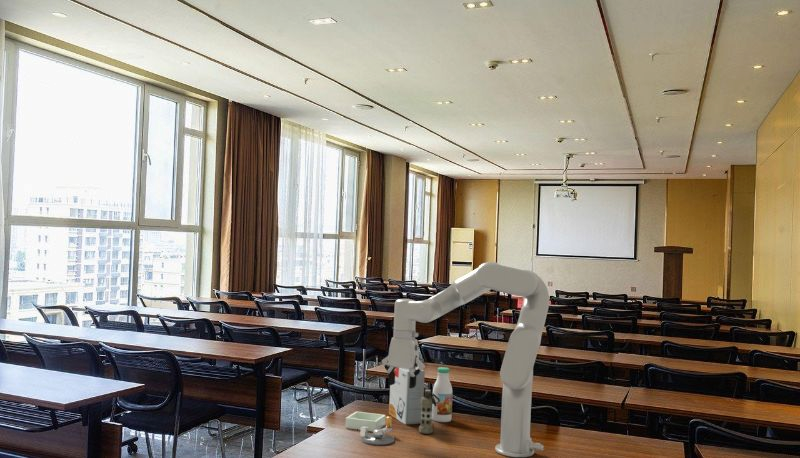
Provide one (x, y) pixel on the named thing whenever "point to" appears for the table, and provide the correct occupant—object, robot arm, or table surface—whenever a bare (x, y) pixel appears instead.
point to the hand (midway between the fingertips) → (401, 385)
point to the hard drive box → (406, 397)
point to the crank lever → (379, 432)
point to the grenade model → (427, 412)
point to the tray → (365, 421)
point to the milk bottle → (442, 397)
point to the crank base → (373, 440)
